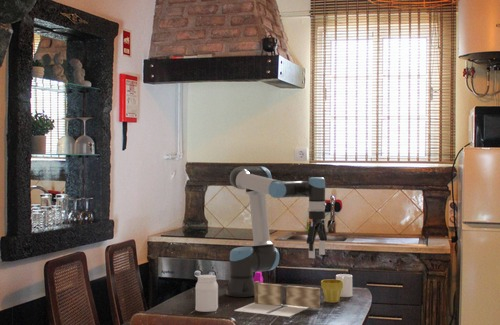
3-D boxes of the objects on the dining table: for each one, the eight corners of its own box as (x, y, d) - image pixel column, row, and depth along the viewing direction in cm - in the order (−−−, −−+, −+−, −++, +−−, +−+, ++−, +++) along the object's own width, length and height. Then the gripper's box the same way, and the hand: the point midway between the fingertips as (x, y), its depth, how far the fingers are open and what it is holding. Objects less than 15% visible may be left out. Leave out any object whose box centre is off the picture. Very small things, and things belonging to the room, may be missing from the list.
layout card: (234, 311, 317) (234, 310, 317) (256, 302, 337) (256, 301, 337) (289, 317, 305) (289, 316, 305) (308, 307, 324) (308, 306, 324)
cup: (334, 298, 347) (334, 277, 347) (336, 293, 359) (336, 273, 359) (350, 298, 346) (350, 278, 346) (353, 294, 357) (353, 274, 357)
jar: (215, 311, 315) (215, 278, 315) (194, 311, 316) (194, 278, 316) (218, 306, 327) (218, 274, 327) (198, 306, 327) (198, 273, 327)
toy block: (262, 285, 385) (262, 271, 385) (260, 286, 379) (260, 272, 379) (236, 283, 389) (236, 270, 389) (233, 285, 383) (233, 271, 383)
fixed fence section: (253, 303, 333) (253, 281, 333) (255, 302, 335) (255, 281, 335) (280, 305, 326) (280, 284, 326) (282, 305, 328) (282, 283, 328)
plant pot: (321, 303, 334) (321, 282, 334) (320, 299, 345) (320, 279, 344) (343, 303, 334) (343, 282, 334) (341, 299, 344) (341, 279, 344)
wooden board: (281, 304, 326) (281, 285, 326) (283, 303, 328) (283, 284, 328) (319, 308, 318) (319, 288, 318) (320, 307, 319) (320, 288, 319)
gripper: (315, 212, 316) (315, 260, 316) (333, 209, 338) (333, 253, 338) (299, 211, 319) (299, 259, 319) (318, 208, 341) (318, 252, 341)
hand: (316, 256), depth 328 cm, fingers open, 13 cm apart
